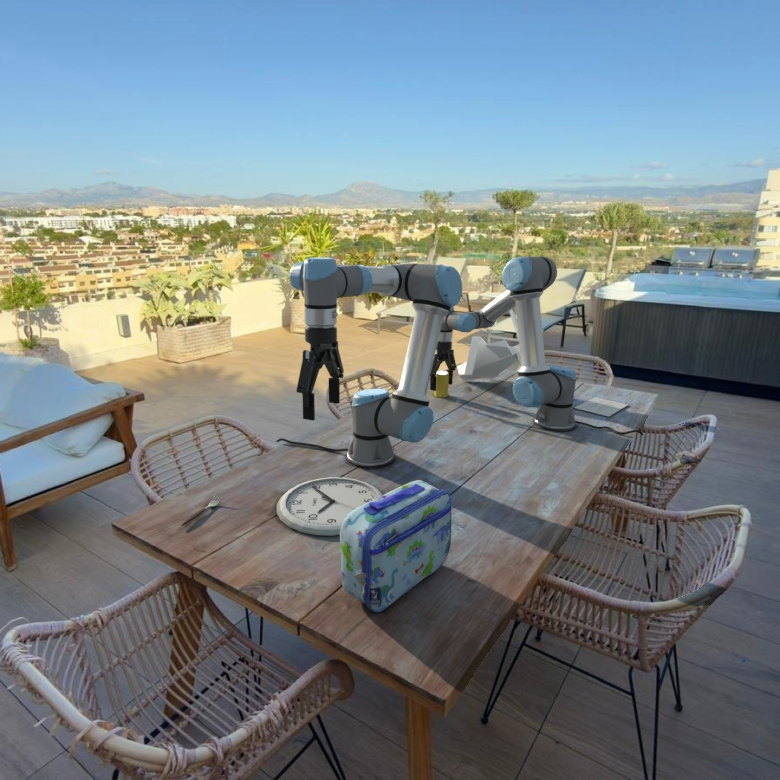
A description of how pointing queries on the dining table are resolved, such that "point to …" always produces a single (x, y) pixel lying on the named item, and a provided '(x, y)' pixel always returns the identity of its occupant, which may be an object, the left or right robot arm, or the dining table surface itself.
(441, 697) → the dining table surface
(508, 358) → the white plastic object
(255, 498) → the dining table surface
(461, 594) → the dining table surface
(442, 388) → the can
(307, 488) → the wall clock
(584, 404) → the invitation card
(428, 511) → the lunch box
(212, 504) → the fork
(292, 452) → the dining table surface
